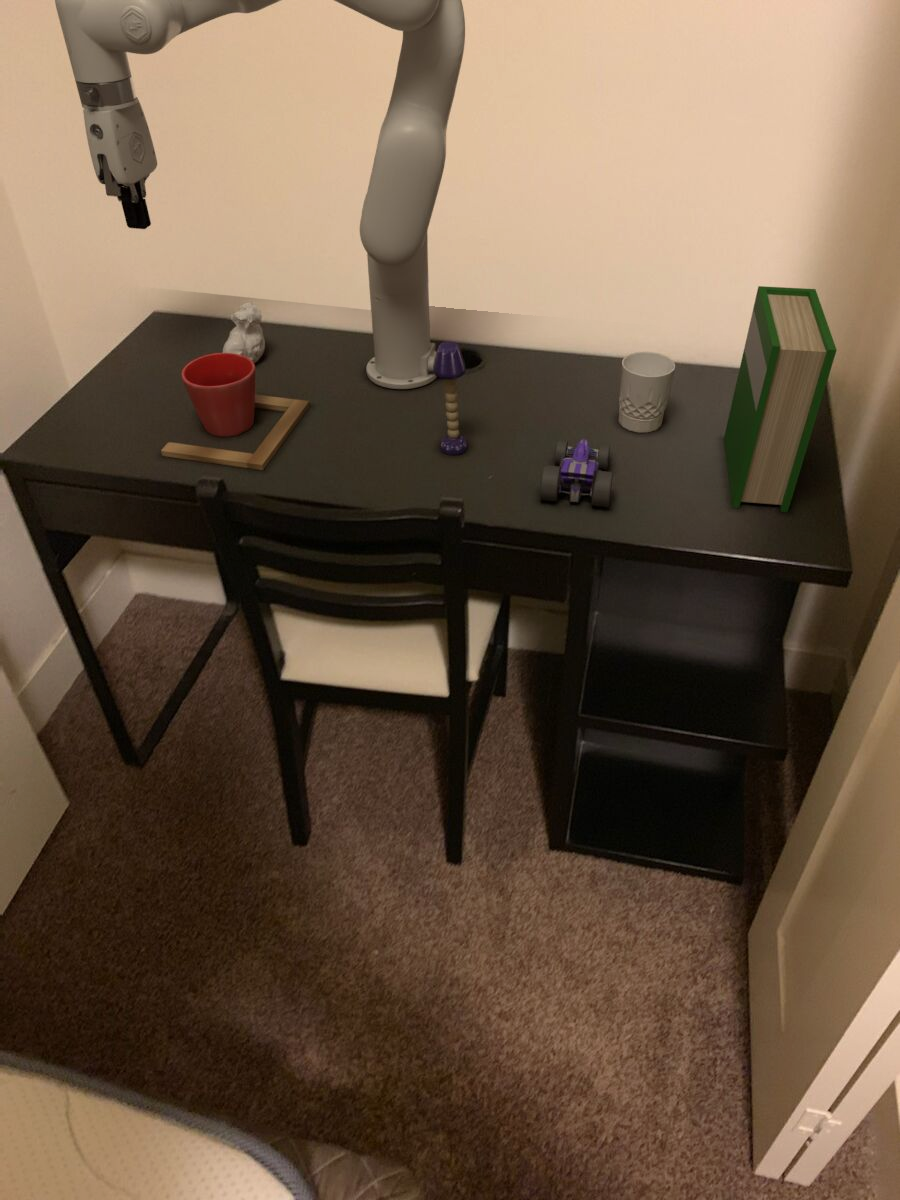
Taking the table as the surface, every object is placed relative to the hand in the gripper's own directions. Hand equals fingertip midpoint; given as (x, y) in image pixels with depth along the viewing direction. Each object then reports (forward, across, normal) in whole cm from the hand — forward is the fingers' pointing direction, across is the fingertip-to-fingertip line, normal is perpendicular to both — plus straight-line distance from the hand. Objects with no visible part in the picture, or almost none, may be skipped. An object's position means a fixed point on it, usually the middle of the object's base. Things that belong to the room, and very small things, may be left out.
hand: (139, 226), depth 137 cm
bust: (+25, +8, -10) cm, 28 cm away
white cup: (+25, +3, -79) cm, 83 cm away
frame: (+25, -14, -18) cm, 34 cm away
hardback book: (+25, -8, -96) cm, 100 cm away
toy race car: (+25, -15, -72) cm, 78 cm away
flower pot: (+25, -13, -16) cm, 33 cm away
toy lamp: (+25, -11, -52) cm, 59 cm away
